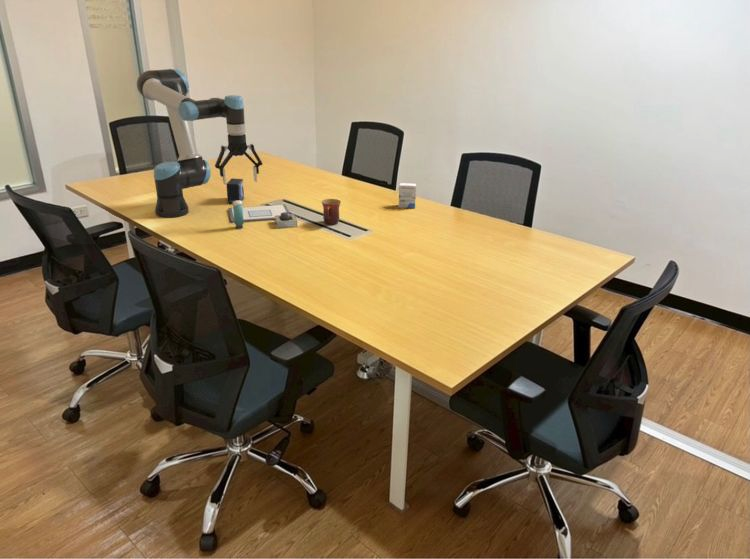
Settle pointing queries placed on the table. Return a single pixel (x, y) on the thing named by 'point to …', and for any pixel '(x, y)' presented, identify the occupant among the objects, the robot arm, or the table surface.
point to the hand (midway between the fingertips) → (240, 182)
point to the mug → (331, 211)
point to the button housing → (285, 222)
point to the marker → (238, 214)
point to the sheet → (260, 213)
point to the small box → (235, 190)
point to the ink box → (407, 195)
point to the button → (285, 216)
